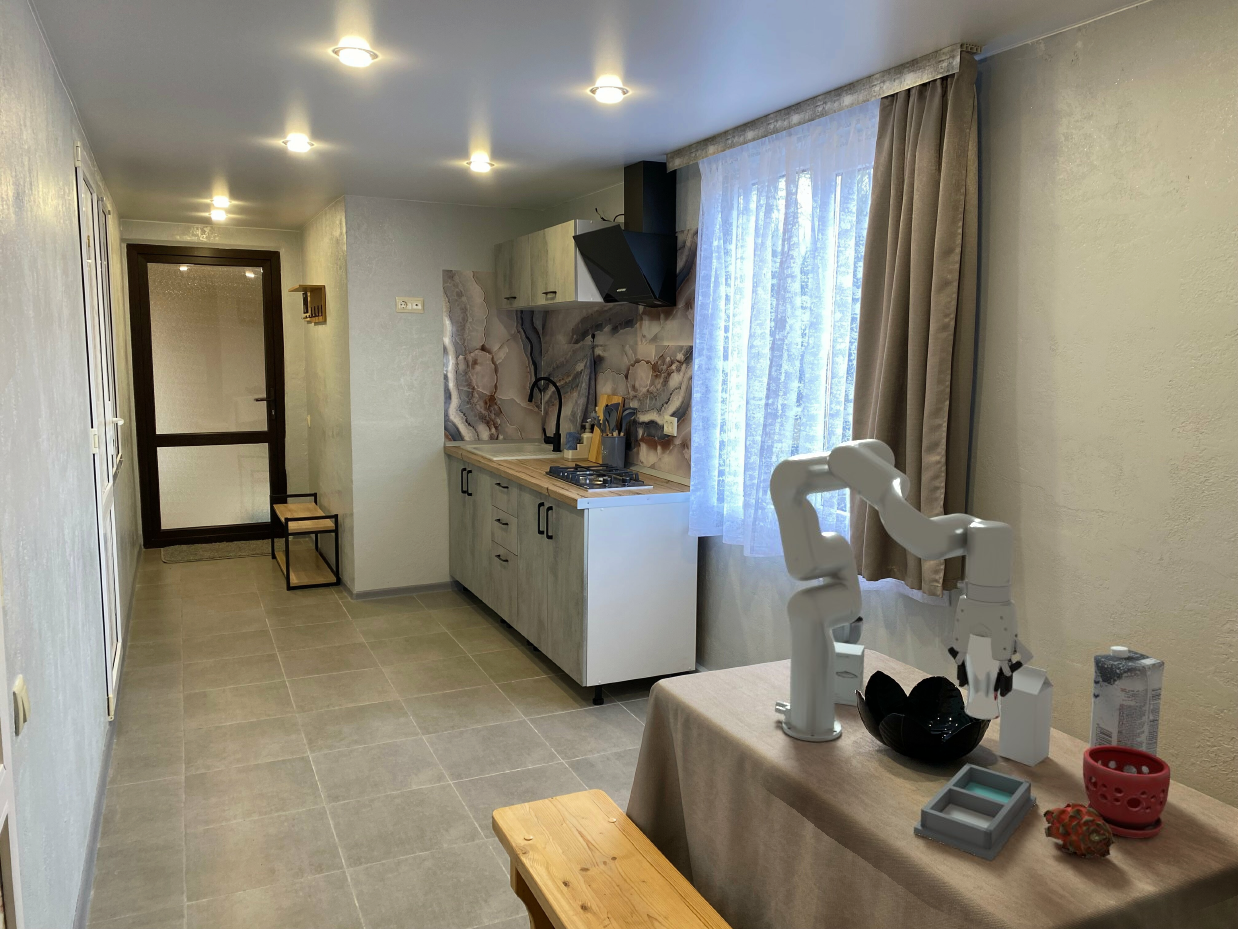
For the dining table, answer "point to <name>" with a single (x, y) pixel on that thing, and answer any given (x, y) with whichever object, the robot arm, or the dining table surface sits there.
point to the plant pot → (1126, 789)
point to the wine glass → (848, 632)
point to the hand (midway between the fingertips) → (983, 689)
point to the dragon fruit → (1079, 830)
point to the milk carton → (1026, 717)
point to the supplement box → (848, 672)
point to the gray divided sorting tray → (976, 811)
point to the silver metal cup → (982, 679)
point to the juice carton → (1126, 702)
